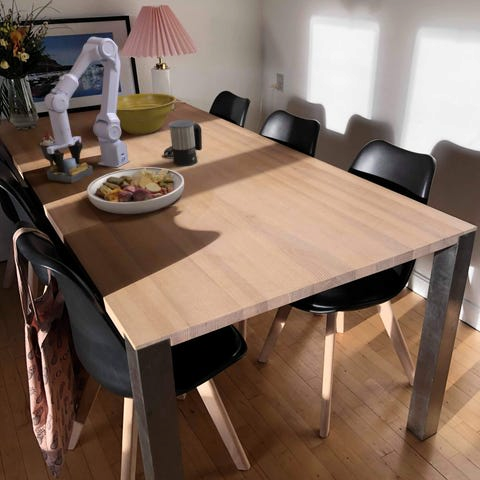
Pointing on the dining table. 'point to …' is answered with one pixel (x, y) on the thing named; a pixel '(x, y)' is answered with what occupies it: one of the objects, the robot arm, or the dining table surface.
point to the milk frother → (184, 142)
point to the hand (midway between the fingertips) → (69, 167)
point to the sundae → (44, 144)
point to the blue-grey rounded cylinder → (69, 164)
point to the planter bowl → (143, 111)
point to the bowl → (136, 190)
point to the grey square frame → (70, 173)
